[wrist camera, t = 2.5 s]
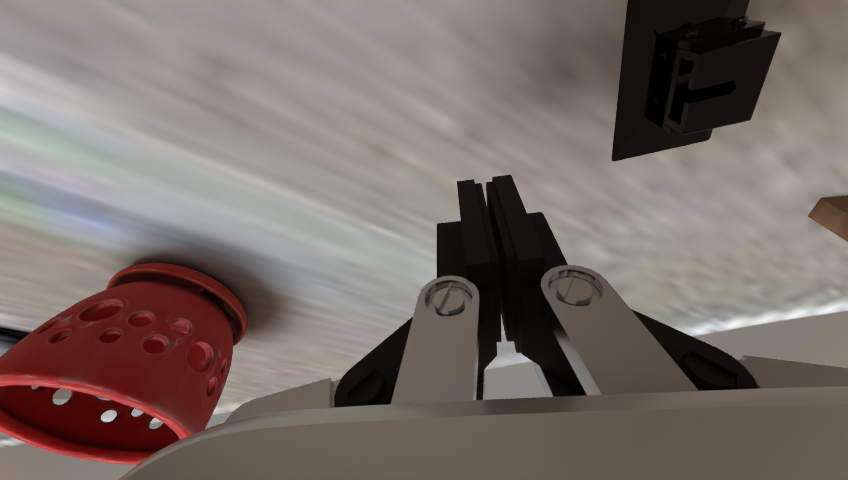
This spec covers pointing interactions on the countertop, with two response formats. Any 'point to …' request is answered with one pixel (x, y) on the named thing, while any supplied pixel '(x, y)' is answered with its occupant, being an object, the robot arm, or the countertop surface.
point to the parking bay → (832, 215)
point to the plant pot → (124, 366)
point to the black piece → (687, 72)
